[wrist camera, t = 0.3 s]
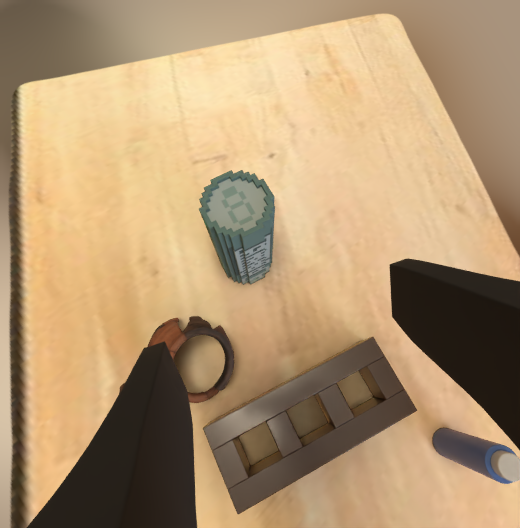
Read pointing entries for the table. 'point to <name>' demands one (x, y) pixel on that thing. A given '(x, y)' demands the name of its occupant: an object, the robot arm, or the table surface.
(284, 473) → the holder
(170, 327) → the brown open ring
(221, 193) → the can
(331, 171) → the table surface
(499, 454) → the handle
